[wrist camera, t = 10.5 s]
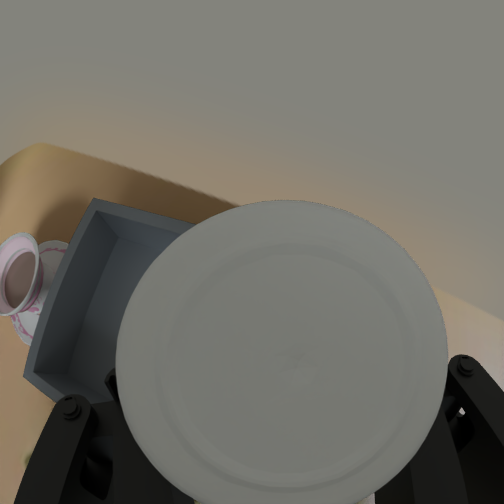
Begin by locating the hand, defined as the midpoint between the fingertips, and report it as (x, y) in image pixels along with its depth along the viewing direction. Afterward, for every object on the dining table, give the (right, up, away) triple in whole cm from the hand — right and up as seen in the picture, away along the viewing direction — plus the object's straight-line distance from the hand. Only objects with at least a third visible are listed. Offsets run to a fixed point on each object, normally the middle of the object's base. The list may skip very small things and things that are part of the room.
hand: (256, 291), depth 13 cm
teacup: (-22, -3, +10) cm, 24 cm away
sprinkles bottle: (0, -5, +2) cm, 5 cm away
